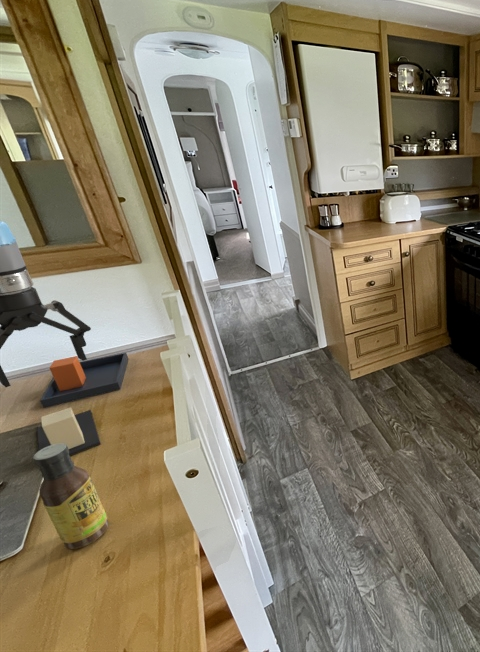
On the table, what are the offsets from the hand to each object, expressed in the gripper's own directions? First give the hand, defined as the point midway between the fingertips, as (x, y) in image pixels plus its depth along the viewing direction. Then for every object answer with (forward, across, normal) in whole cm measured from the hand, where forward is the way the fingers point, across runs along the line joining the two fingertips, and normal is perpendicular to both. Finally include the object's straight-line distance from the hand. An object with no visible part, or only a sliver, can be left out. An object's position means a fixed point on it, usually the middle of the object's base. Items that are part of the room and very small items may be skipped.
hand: (46, 371), depth 93 cm
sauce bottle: (+16, -12, -43) cm, 48 cm away
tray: (+16, +11, +19) cm, 27 cm away
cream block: (+15, -4, -10) cm, 19 cm away
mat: (+16, -2, -6) cm, 17 cm away
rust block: (+16, +8, +21) cm, 27 cm away
